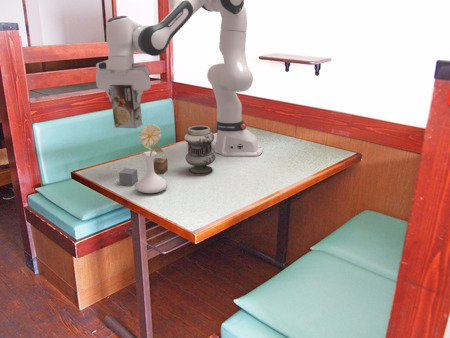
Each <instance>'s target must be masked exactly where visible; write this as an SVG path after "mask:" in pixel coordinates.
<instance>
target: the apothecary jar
mask: <svg viewBox="0 0 450 338" xmlns="http://www.w3.org/2000/svg"><path fill="white" fill-rule="evenodd" d="M187 129H188V130H187V133H186V134H185V135H184V138H183V139H184V141H185V143H187V154H185V158H184V159H185V161H186V163H187V164H188V165H191V166H192V167H190V168H189V169H188V173H189V174H191V175H192V176H193V175H194V176H205V175H209V174H211V173H213V171H214V169H213V167H211V166H209V165H211V164H213V163H214V162H215V159H216V154H215V153H214V152H213V149H212V148H213V145H212V142H214V141H215V135H214V133H213V132H212V131H211V128H210V126H207V125H193V126H190V127H188V128H187Z"/></svg>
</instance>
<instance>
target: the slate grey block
mask: <svg viewBox="0 0 450 338" xmlns="http://www.w3.org/2000/svg"><path fill="white" fill-rule="evenodd" d="M118 179H119V186H123V187H125V186H127V187H133V186H135V185H136V184H137V183H138V181H139V179H138V169H137V168H125V167H124V168H123V169H122V170H120V171H119V172H118Z"/></svg>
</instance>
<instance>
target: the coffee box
mask: <svg viewBox="0 0 450 338" xmlns="http://www.w3.org/2000/svg"><path fill="white" fill-rule="evenodd" d="M110 92H111V100H112V102H111V107H112V116H113V123H114V124H113V125H114V128H117V129H138V128H139V127H141V126H143V119H142V118H143V117H142V108H141V102H139V103H138V102H135V98H136V97H137V96H138V94H139V93H137V90H133V87H132V85H110Z"/></svg>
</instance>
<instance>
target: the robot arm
mask: <svg viewBox="0 0 450 338" xmlns="http://www.w3.org/2000/svg"><path fill="white" fill-rule="evenodd" d="M168 3H169V7H170V9H171V11H170V12H169V13H168V14H167V15H165V17H164V18H163V19H162V20H161V21H160V22H159V23H157V24H154V25H142V24H140V23H138V22H135V21H133V20H132V19H131V18H129V16H127V15H119V16H113V17H111V18H108V20H107V22H106V27H105V36H106V44H107V47H108V54H107V56H108V59H105V60H102V61H100V62H97V63H96V64H95V66H96V69H97V70H96V73H95V83H96V87H97V89H98V90H105V93H106V95H107V96H108V98H109V102H111V103H112V100H111V92H110V85H132V87H133V90H137V93H139V94H138V96H137V97H136V98H135V102H138V103H139V102H140V103H141V101H142V100H141V97H142V95H143V94H144V91H145V92H146V91H148V90H150V89H151V87H152V85H151V79H150V68H149V67H148V65H147V64H144V63H140V64H138V63H135V60H134V57H135V56H134V53H135V52H136V53H139V54H146V55H149V56H153V57H157V56H160V55H162V54H163V53H164V52H166V50H167V49H168V46H169V44H170V42H171V40H172V39H173V37H174V36H175V35H176V34H177V33H178V32H179V31H180V30H181V29H182V27H184V25H185V24H186V23H187V22H188V21H189V20H190V19H191V17H192V16H193V15H194V14H195V13H197V12H198V11H199V10H200V9H203V10H205V11H207V12H210V13H211V12H215V13H216V12H217V13H220V17H221V23H220V33H219V34H220V35H219V44H218V45H219V48H218V49H219V51H220V53H221V55H222V58H223V63H216V64H213V65H211V66H210V67H209V68H208V70H207V74H206V77H207V80H208V82H209V84H210V86H211V87H212V90H213V93H214V97H215V101H216V124H215V131H216V139H215V140H216V141H215V145H214V149H213V150H214V152H215V153H217V154H218V155H219V154H220V155H221V156H222V157H258V156H261V155H262V153H263V151H264V149H263V146H261V145H259V142H258V138H257V136H256V135H255V134H253V133H252V132H251V131H250V130H248V129H247V120H246V121H244V120H243V119H242V108H243V105H242V102H241V100H240V99H239V97H238V95H237V93H241V92H247V91H248V90H249V89H250V88H251V87H252V85H253V81H254V76H253V73H252V71H251V70H250V69H249V67H248V62H247V57H246V43H247V42H246V41H247V39H246V38H247V30H248V28H247V27H248V20H247V19H248V17H247V16H248V15H247V10H246V7H245V6H244V5H245V0H169V2H168Z"/></svg>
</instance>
